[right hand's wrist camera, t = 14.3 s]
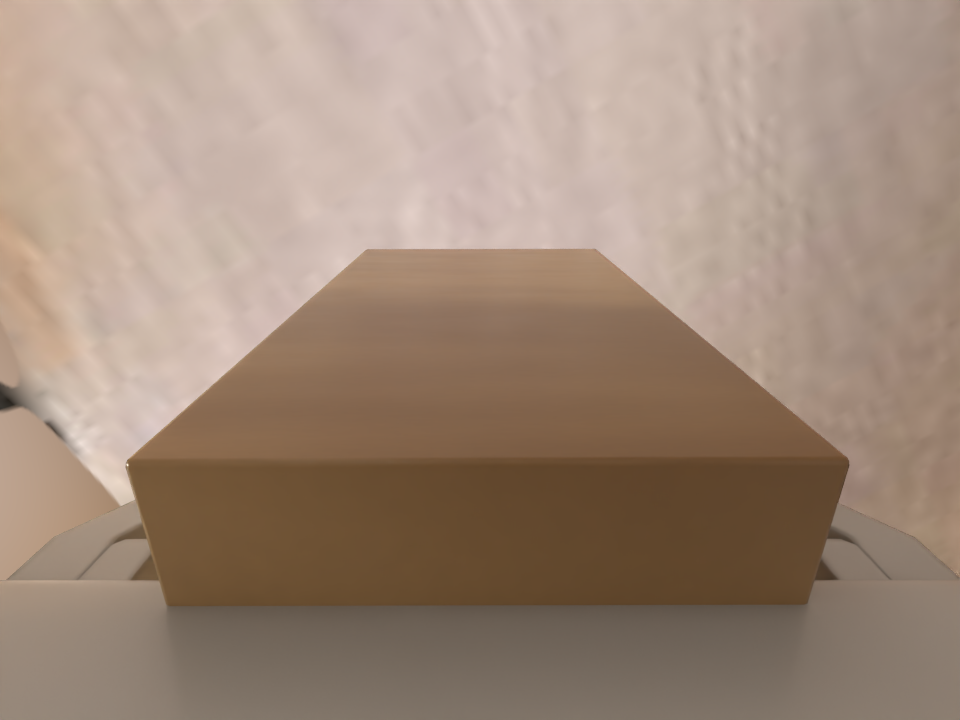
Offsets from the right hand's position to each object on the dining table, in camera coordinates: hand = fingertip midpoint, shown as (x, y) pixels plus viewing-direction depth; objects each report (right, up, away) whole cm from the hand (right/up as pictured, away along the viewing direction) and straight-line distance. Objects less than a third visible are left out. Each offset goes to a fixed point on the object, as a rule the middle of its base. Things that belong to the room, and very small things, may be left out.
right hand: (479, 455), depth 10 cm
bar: (0, -7, +7) cm, 10 cm away
